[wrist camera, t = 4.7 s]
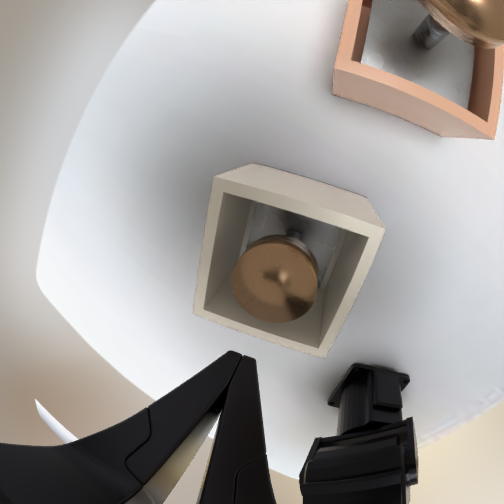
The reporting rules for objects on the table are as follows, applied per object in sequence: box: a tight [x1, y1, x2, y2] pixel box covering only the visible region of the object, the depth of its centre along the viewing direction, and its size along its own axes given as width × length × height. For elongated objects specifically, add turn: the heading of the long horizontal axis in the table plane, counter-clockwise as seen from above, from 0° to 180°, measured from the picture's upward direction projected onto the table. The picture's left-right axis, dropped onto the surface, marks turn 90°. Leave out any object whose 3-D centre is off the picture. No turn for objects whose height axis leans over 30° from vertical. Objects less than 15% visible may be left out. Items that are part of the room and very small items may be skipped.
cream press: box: [193, 163, 386, 359], centre depth 17 cm, size 8×8×7 cm
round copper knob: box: [231, 202, 342, 323], centre depth 16 cm, size 6×6×7 cm
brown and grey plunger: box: [360, 0, 504, 110], centre depth 5 cm, size 6×6×7 cm
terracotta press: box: [332, 0, 504, 140], centre depth 10 cm, size 8×8×7 cm
